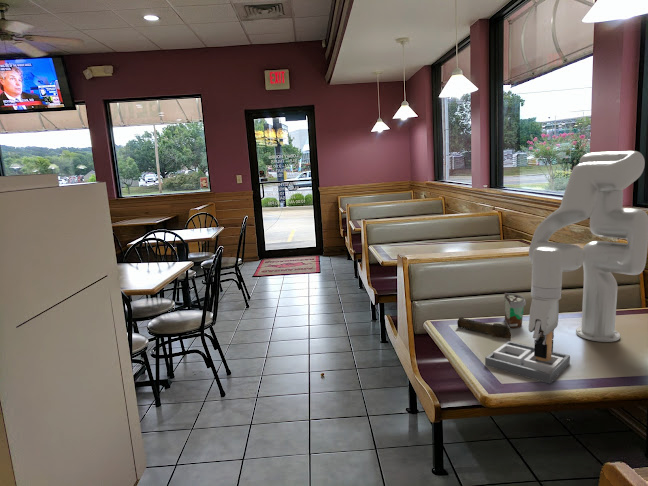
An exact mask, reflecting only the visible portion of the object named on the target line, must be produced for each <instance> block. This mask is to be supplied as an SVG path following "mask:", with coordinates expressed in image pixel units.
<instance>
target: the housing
mask: <svg viewBox="0 0 648 486" xmlns="http://www.w3.org/2000/svg"><path fill="white" fill-rule="evenodd" d="M534 347H535V346H531V345H526V344H522V343H518V342H515V341H510V340H508V341H507V342H505V343H504V344H502V345H501V346H500V347H497V349H495V350H494V351H492V352H491V353H490V354H488V355H487V356H485V357H484V360H485V361H484V363H485V364H484V366H485V367H489V368H492V369H496V370H499V371H503V372H506V373H510V374H514V375H518V376H521V377H525V378H528V379H531V380H535V381H539V382H543V383H546V384H551V383H552V382H553V381H554V380H555V379H556V378H557V377H558V376H559V375H560V374H561V373H562V372H563V371H564V370H565V369H566V368H568V366H569V365H570V364H571V355H570V354H565V353H561V352H557V351H553V352H552V354H551V360H550V361H540V360H538V359H536V356H534Z"/></svg>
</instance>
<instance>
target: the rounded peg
mask: <svg viewBox="0 0 648 486" xmlns="http://www.w3.org/2000/svg"><path fill="white" fill-rule="evenodd" d="M540 332H541V333H543V332H544V331H540ZM540 337H542V338H543V336H541V335H540ZM552 340H553V339H552V331H551V332H550V333H549V334H547V338H546V345H547V358H546V359H544V358H540V357H536V359H538V360H540V361H550V360H551V354H552Z"/></svg>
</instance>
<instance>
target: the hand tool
mask: <svg viewBox="0 0 648 486" xmlns="http://www.w3.org/2000/svg"><path fill="white" fill-rule="evenodd" d="M456 323H457V328H458V329H460V328H461V329H462V330H463V329H465V330H471V331H475V332H479V333H483V334H488V335H492V337H494V338H499V339H506V340H507V339H508V340H510V339H512V333H511V330H510V329H511V328H509V327H508V325H506V324H501V323H499V322H497V323H493V324H491V323H485V322H481V321H476V320H474V319H468V318H464V317H462V316H461V317H458V319H457V321H456Z"/></svg>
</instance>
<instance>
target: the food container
mask: <svg viewBox="0 0 648 486" xmlns="http://www.w3.org/2000/svg"><path fill="white" fill-rule="evenodd" d="M526 305H527V302H526V299H525V297H524V296H523V295H520V294H518V293H512V292H504V321H505V323H506V324H507V325H506V326H508V328H509V329H519V328H520V327H522V325H523V317H524V307H525V306H526Z"/></svg>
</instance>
